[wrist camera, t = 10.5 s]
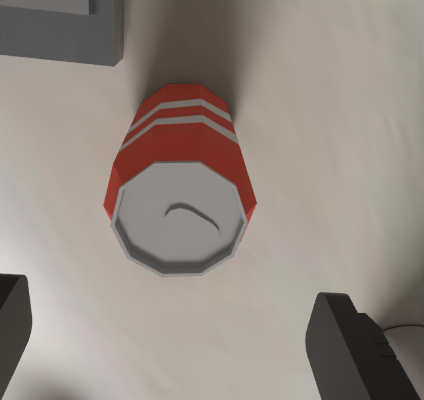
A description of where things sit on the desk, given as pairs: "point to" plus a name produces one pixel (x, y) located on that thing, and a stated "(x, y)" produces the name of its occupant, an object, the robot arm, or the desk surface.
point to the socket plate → (63, 30)
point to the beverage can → (180, 184)
